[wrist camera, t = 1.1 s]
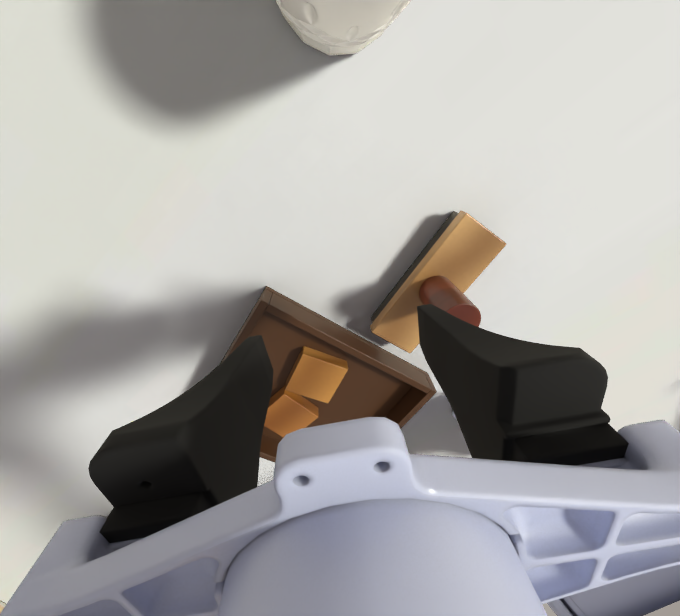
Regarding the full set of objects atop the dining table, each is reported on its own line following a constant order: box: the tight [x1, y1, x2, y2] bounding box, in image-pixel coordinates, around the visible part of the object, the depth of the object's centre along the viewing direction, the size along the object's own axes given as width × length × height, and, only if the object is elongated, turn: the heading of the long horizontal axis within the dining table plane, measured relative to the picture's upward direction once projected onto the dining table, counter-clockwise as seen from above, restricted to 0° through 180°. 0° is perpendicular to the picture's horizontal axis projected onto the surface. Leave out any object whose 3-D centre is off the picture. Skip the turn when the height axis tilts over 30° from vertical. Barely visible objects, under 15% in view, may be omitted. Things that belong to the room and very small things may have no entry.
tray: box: [220, 286, 437, 462], centre depth 28 cm, size 16×14×2 cm
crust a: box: [285, 346, 348, 403], centre depth 27 cm, size 4×4×1 cm
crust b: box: [264, 386, 318, 438], centre depth 28 cm, size 4×4×1 cm
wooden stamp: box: [370, 211, 506, 353], centre depth 21 cm, size 4×10×7 cm, turn 147°
